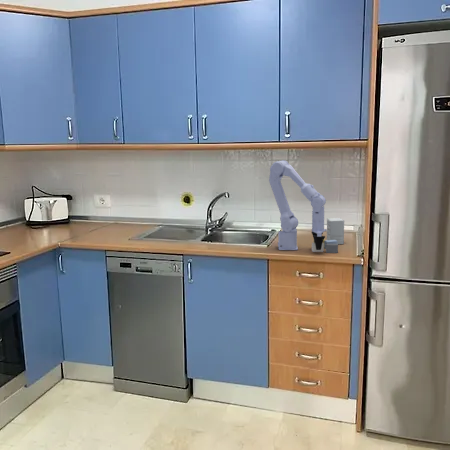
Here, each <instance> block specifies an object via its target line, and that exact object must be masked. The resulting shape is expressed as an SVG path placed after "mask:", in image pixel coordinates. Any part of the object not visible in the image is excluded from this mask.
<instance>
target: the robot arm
mask: <svg viewBox="0 0 450 450" xmlns="http://www.w3.org/2000/svg"><path fill="white" fill-rule="evenodd" d="M283 177H289V178H290V179H291V180H292V181H293V182H294V183H295V184H296V185H297V186H298V187H299V188H300V192H301V193H302V195H303V196H304V197H305V198H306V199H307V201H309V202H310V206H311V207H312V213H311V214H312V215H311V219H312V220H311V221H312V222H311V235H312V237H313V241H314V243H315V245H316V250H321V247H322V243H323V240H324V239H326V236H325V235H323V233H324V232H327V228H325V205H326V201H327V200H326V198H325V196H324V195H323V194H321V192H318V191H317V189H316V188H315V186H314V184H311V183H307V182H305V180H304V179H303V178H302V177H301V176H300V174H299V173H298V172H297V171H296V170H295V168H294V167H293V165H291V164H290V163H289V162H288V161H287V160H285V159H282V160H278V161H274V162H273V163H272V165H271V166H270V168H269V178H268V182H269V185H270V188H271V190H272V193H273V196H274V199H275V202H276V205H277V208H278V210H279V213H280V217H279V218H280V220H279V221H280V227H281V229H282V230H279V231H278V233H277V234H278V236H277V237H278V239H277V240H278V241H277V247H278V250H279V251H298V250H299V247H298V237H297V236H298V231H297V230H298V229H297V227H298V226H299V220H298V218H297V217H296V216H295V214H294V212H293V211H292V210H291V207H290V204H289V202H288V199H287V195H286V194H285V191H284V188H283V185H282V178H283Z"/></svg>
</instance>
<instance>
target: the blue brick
mask: <svg viewBox="0 0 450 450" xmlns="http://www.w3.org/2000/svg"><path fill="white" fill-rule="evenodd" d="M326 244H337V241H336V240H327V239H325V244H324V250H326Z"/></svg>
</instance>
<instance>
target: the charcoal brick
mask: <svg viewBox="0 0 450 450" xmlns="http://www.w3.org/2000/svg"><path fill="white" fill-rule="evenodd" d="M325 253H326V254H339V244H326V249H325Z"/></svg>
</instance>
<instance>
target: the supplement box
mask: <svg viewBox="0 0 450 450" xmlns="http://www.w3.org/2000/svg"><path fill="white" fill-rule="evenodd" d="M326 230H327V231H326V240H336V241H337V244H338V245H344V243H345V242H344V241H345V220H344V219H342V218H341V217H332V218H330V217H329V218H326Z"/></svg>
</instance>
